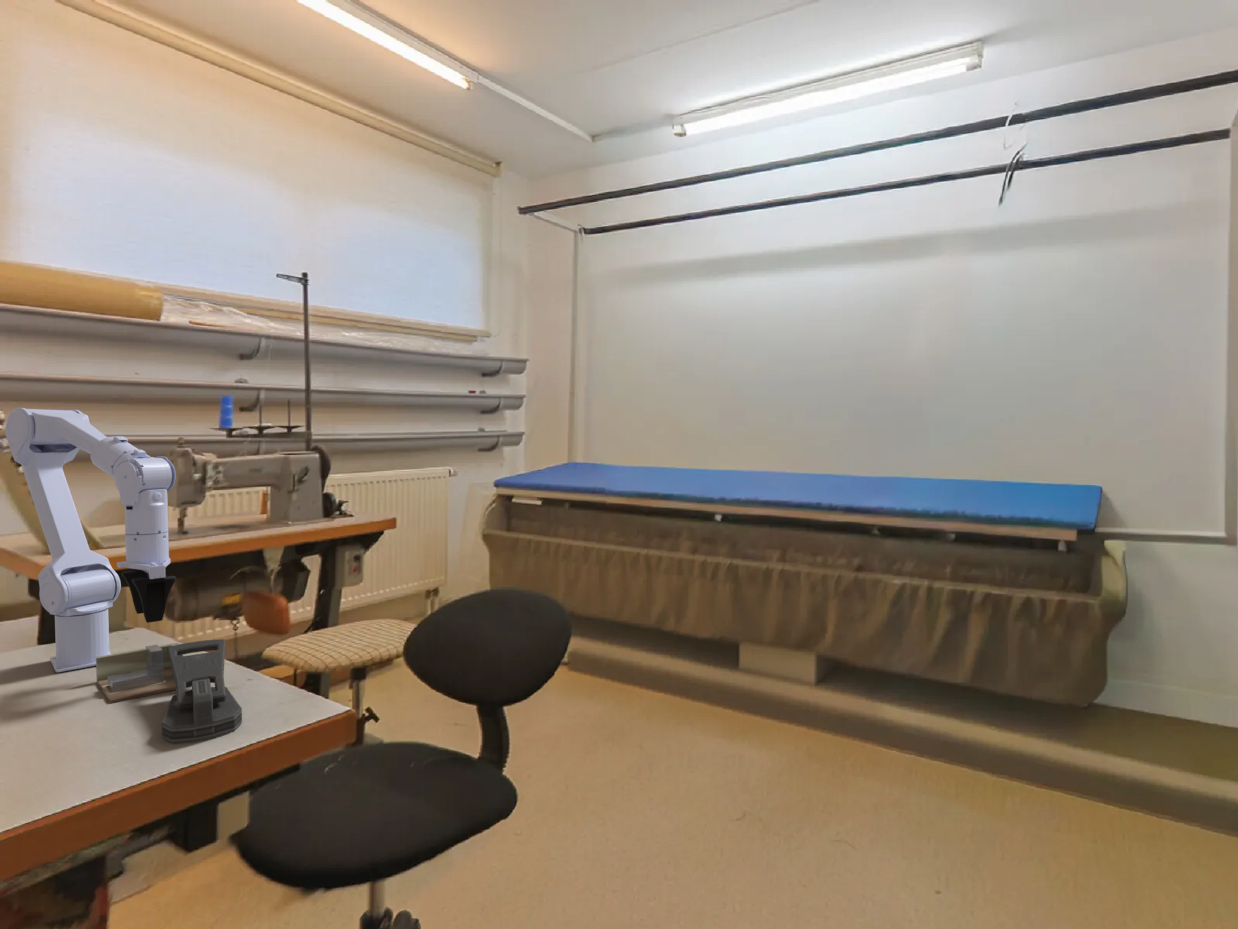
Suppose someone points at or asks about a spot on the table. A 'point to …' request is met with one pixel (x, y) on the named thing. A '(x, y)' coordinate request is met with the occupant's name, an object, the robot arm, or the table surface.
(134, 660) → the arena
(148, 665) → the angle bracket
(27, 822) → the table surface
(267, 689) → the table surface
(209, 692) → the zipper pull
